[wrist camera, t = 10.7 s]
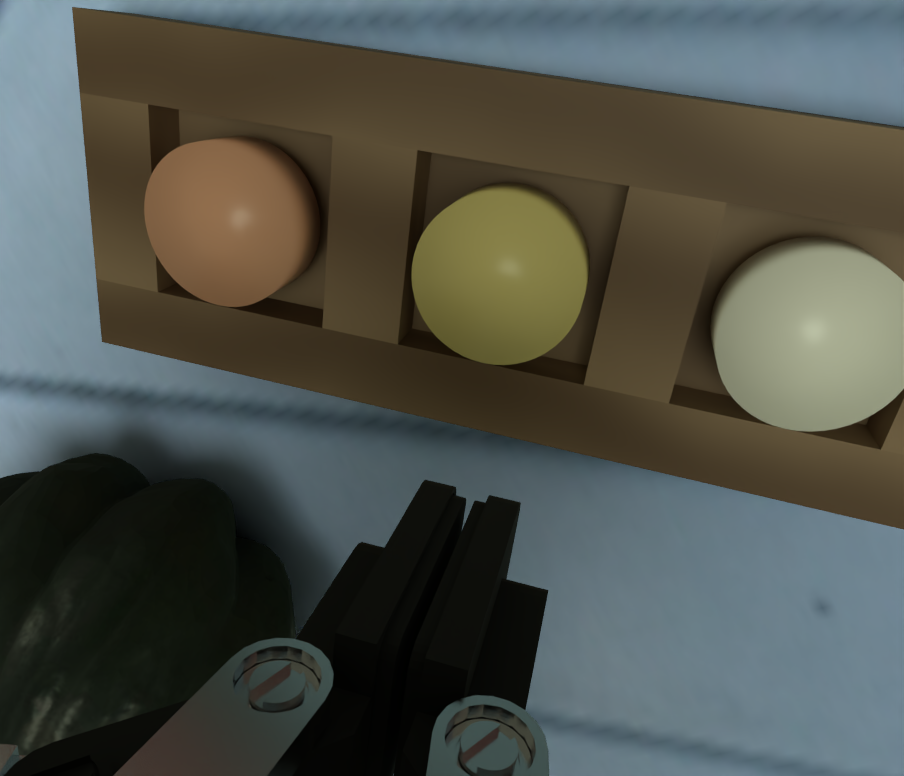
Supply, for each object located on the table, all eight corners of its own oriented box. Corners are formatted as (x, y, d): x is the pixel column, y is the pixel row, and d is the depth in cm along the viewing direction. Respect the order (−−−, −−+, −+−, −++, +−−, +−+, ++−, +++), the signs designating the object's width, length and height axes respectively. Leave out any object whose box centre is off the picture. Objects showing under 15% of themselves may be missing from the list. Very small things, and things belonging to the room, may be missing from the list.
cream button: (861, 418, 20) (880, 449, 18) (690, 382, 20) (694, 409, 19) (931, 254, 18) (959, 273, 16) (738, 221, 19) (747, 236, 17)
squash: (-167, 396, 24) (-444, 942, 18) (242, 409, 21) (76, 1076, 15) (95, 511, 37) (-15, 856, 31) (375, 530, 34) (315, 918, 27)
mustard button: (571, 357, 21) (565, 381, 19) (421, 325, 22) (403, 345, 20) (606, 198, 19) (602, 210, 17) (439, 169, 20) (421, 178, 18)
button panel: (906, 489, 22) (934, 536, 20) (147, 318, 26) (102, 341, 24) (1068, 151, 18) (1127, 163, 16) (129, 12, 22) (72, 7, 20)
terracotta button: (316, 303, 22) (291, 321, 21) (183, 274, 23) (148, 289, 22) (324, 149, 20) (296, 156, 19) (177, 123, 21) (139, 128, 20)
